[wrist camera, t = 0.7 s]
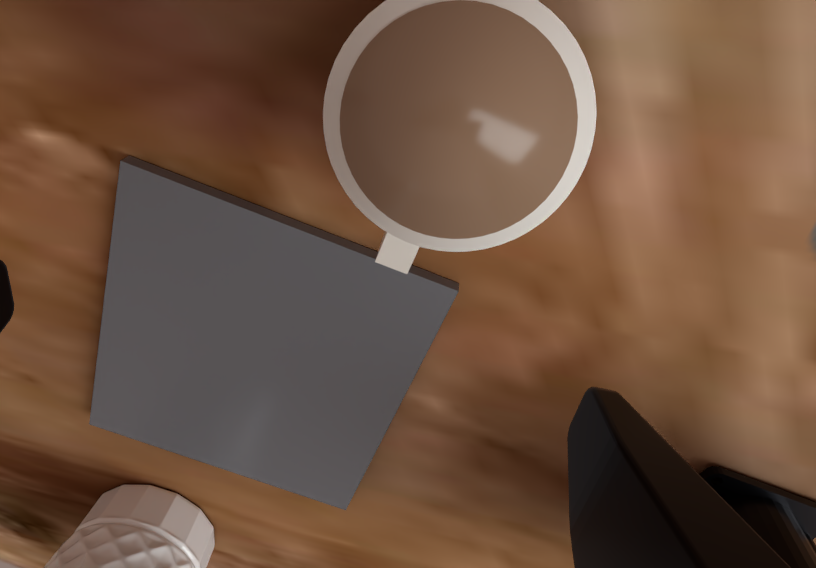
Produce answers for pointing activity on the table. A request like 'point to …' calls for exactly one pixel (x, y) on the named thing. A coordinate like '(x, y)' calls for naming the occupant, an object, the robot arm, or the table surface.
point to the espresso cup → (458, 122)
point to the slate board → (254, 336)
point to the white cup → (139, 532)
